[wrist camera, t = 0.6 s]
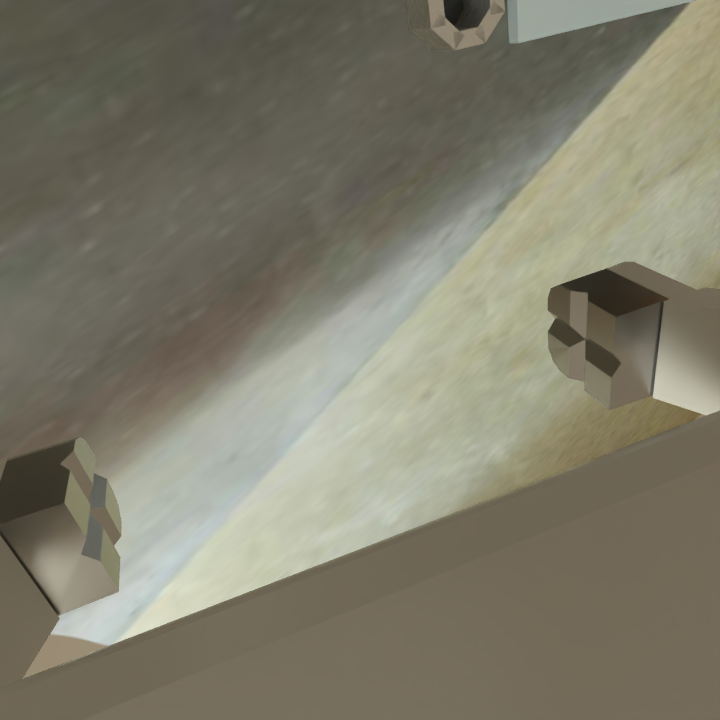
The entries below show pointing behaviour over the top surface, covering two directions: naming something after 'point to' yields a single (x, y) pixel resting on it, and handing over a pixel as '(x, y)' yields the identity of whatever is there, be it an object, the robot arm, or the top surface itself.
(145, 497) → the top surface
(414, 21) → the ring
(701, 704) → the robot arm
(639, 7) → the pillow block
